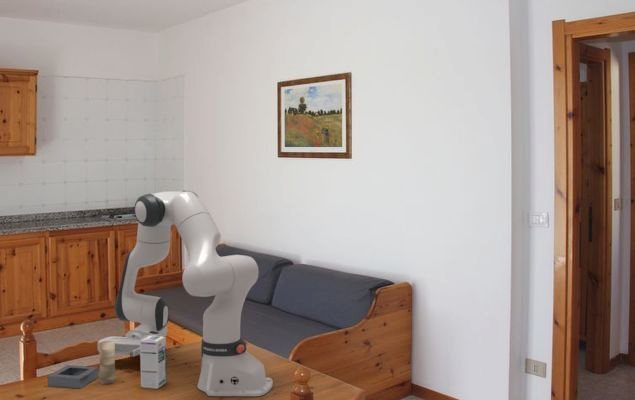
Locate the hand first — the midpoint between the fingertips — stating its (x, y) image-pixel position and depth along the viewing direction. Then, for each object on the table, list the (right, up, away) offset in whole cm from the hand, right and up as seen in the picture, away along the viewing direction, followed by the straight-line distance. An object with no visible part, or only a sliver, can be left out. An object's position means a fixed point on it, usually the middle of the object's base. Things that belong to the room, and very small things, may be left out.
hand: (117, 352), depth 198 cm
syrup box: (+13, -8, -9) cm, 18 cm away
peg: (-1, -7, -6) cm, 9 cm away
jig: (-12, -7, -6) cm, 15 cm away
